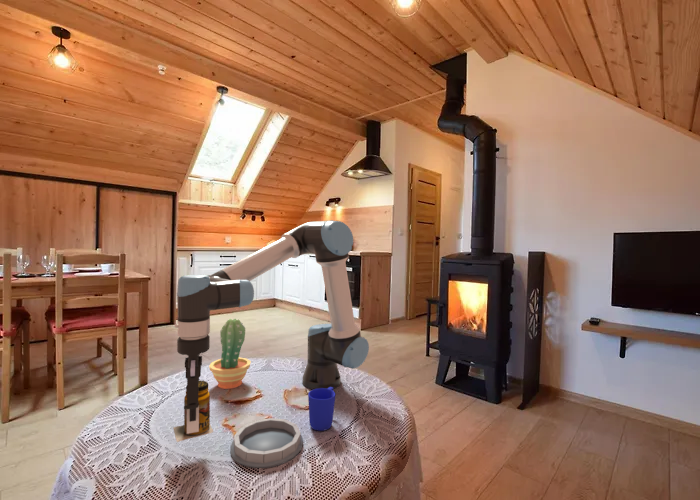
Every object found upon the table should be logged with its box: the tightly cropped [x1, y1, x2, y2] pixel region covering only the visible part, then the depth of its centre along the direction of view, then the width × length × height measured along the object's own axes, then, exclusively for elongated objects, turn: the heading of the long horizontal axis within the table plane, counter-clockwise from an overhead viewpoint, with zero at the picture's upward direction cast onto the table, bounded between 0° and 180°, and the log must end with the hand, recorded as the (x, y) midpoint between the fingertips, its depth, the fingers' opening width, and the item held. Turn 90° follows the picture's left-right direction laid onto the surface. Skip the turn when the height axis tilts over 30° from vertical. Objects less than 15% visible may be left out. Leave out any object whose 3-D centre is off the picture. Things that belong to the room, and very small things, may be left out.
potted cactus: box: [208, 318, 252, 390], centre depth 133 cm, size 15×15×25 cm
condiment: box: [173, 380, 215, 443], centre depth 88 cm, size 7×8×12 cm
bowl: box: [230, 417, 304, 469], centre depth 93 cm, size 19×19×3 cm
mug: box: [307, 387, 336, 432], centre depth 106 cm, size 8×12×10 cm
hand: (193, 424), depth 88 cm, fingers closed on condiment, 6 cm apart
